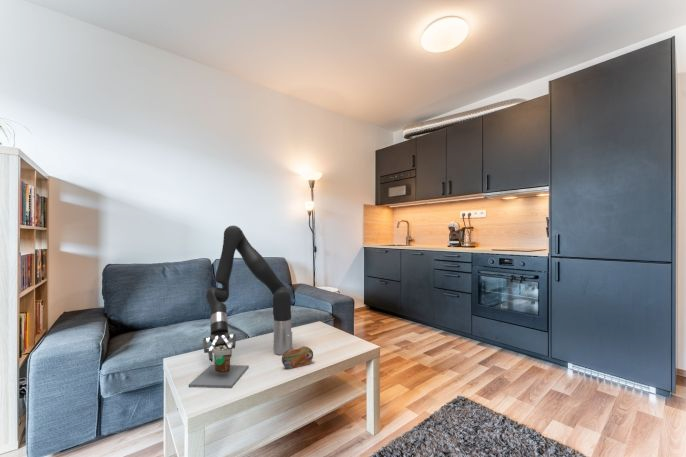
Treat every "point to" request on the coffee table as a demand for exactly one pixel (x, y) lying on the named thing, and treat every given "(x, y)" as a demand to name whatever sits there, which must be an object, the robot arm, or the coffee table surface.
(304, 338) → the coffee table surface
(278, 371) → the coffee table surface
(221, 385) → the slate board
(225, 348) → the food container
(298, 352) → the tin
